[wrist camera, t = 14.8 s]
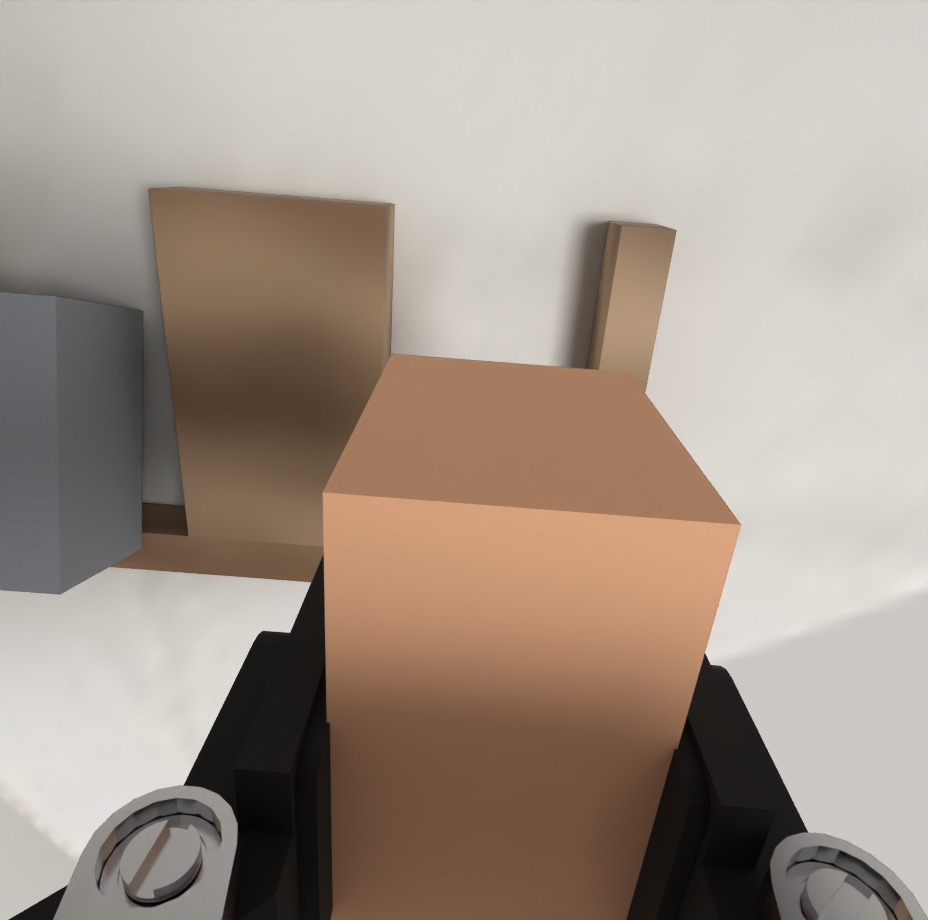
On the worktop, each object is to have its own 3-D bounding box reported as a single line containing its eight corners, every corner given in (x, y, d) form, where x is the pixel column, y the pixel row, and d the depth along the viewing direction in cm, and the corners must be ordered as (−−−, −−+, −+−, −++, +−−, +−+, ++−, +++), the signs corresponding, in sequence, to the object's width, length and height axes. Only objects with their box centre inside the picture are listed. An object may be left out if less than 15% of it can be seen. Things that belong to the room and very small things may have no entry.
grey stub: (35, 302, 21) (-81, 285, 17) (142, 310, 21) (55, 295, 17) (39, 540, 22) (-68, 584, 18) (141, 548, 22) (59, 594, 18)
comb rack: (-87, 165, 19) (-146, 165, 18) (658, 224, 20) (676, 230, 18) (3, 527, 25) (-35, 555, 23) (595, 572, 25) (603, 604, 23)
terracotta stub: (391, 353, 10) (323, 492, 5) (629, 372, 10) (740, 524, 5) (380, 750, 13) (332, 1025, 9) (557, 764, 13) (593, 1045, 9)
